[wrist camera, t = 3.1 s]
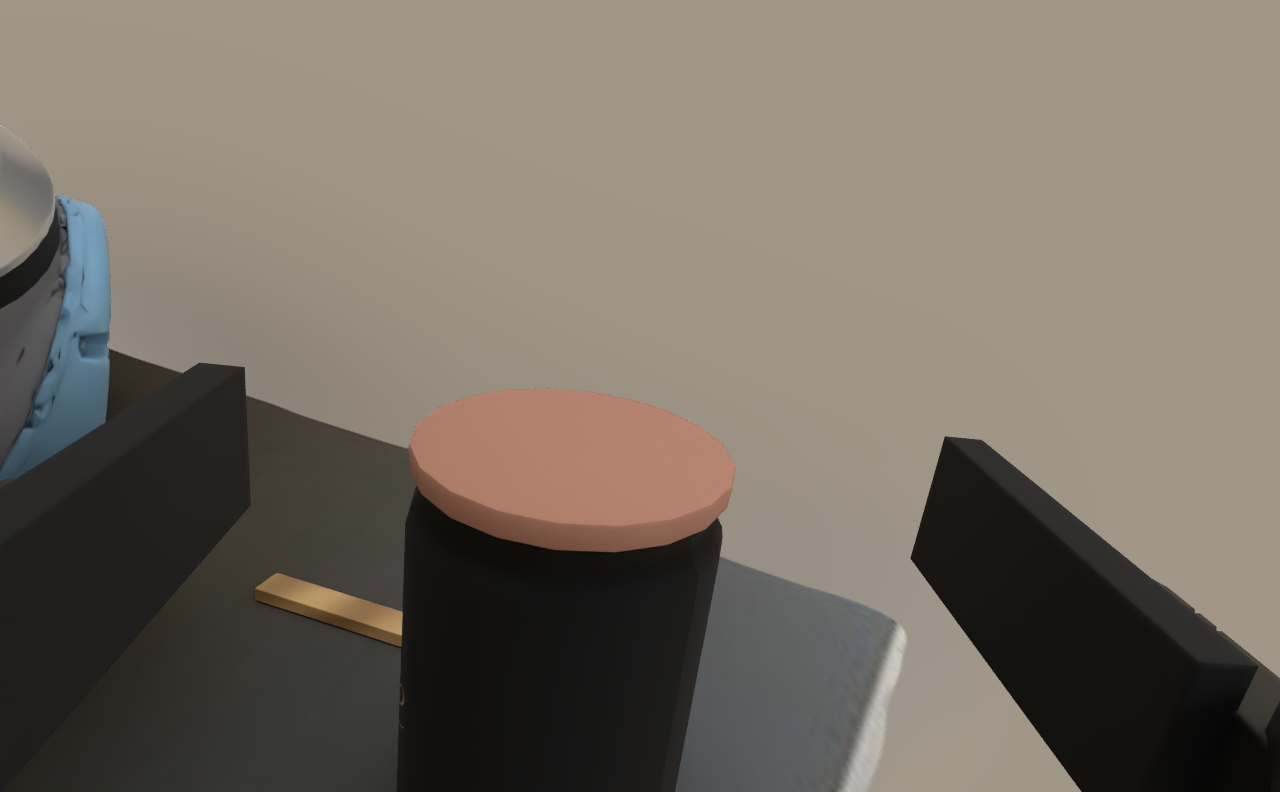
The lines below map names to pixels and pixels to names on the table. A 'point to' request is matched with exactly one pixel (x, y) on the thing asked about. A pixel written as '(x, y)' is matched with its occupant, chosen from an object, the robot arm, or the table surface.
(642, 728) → the coffee jar
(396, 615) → the tan flat long part
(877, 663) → the table surface
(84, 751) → the table surface
